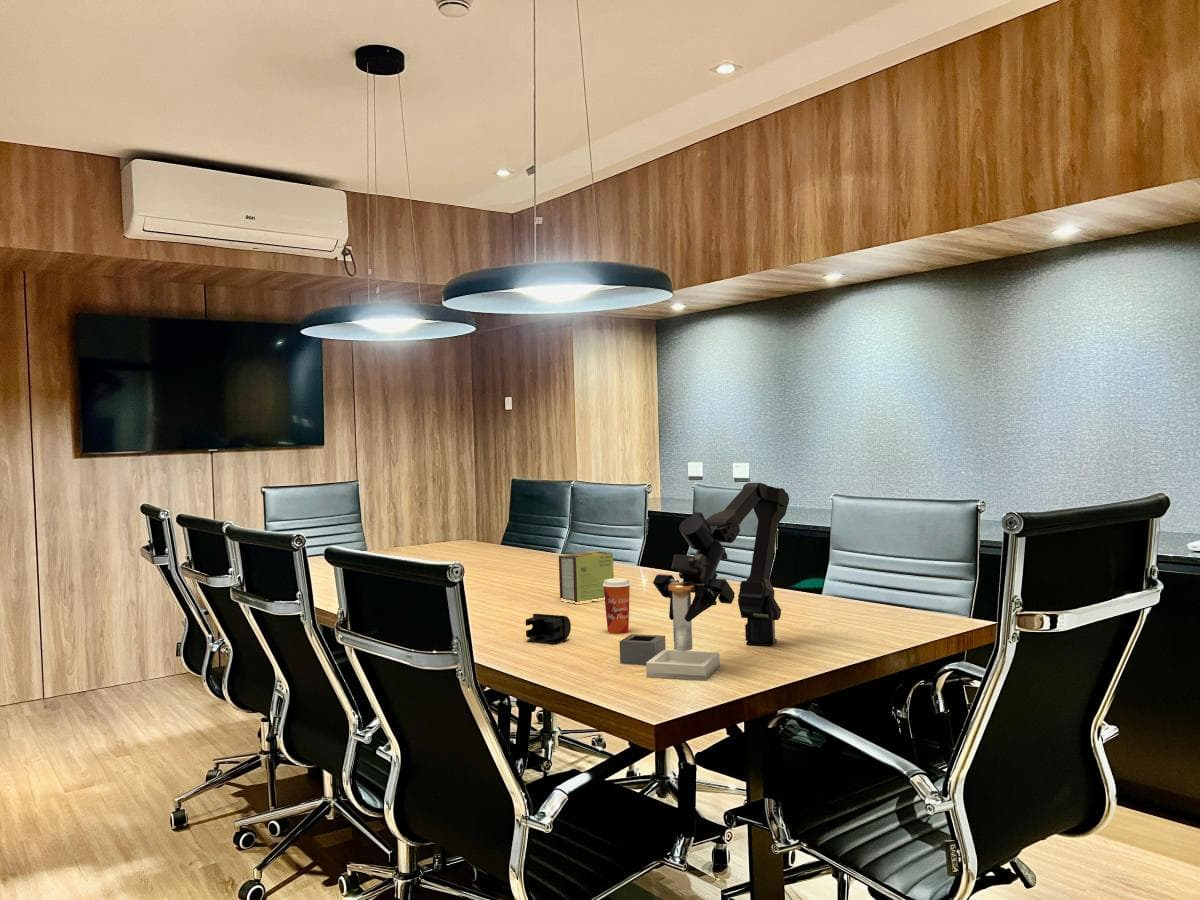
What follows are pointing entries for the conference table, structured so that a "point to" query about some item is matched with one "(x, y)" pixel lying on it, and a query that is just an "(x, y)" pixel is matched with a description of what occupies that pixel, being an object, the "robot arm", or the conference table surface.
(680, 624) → the hitch pin
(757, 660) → the conference table surface
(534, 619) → the end cap
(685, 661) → the tray
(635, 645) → the block
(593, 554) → the protein box
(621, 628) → the paper cup
